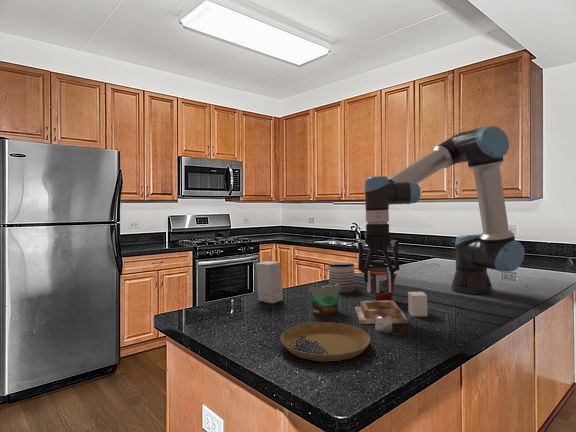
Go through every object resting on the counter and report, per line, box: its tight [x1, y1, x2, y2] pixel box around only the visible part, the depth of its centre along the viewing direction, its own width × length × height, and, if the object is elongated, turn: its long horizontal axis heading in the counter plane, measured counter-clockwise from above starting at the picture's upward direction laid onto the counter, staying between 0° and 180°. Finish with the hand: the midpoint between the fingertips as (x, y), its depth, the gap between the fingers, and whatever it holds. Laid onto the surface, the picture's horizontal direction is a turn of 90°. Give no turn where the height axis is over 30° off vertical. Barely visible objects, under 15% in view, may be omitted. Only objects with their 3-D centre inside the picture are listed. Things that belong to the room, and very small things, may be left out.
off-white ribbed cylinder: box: [328, 262, 356, 293], centre depth 166 cm, size 11×11×12 cm
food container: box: [308, 282, 341, 317], centre depth 132 cm, size 12×6×10 cm, turn 117°
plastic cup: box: [368, 268, 399, 301], centre depth 146 cm, size 11×11×12 cm
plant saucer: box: [280, 322, 371, 362], centre depth 103 cm, size 24×24×3 cm
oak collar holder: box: [354, 299, 409, 325], centre depth 127 cm, size 15×15×4 cm
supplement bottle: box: [369, 259, 389, 297], centre depth 126 cm, size 6×6×11 cm
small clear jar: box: [374, 314, 393, 334], centre depth 114 cm, size 5×5×4 cm
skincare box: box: [255, 260, 284, 304], centre depth 152 cm, size 8×7×16 cm
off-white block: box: [407, 291, 428, 317], centre depth 128 cm, size 5×5×7 cm
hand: (379, 291), depth 127 cm, fingers closed on supplement bottle, 6 cm apart
